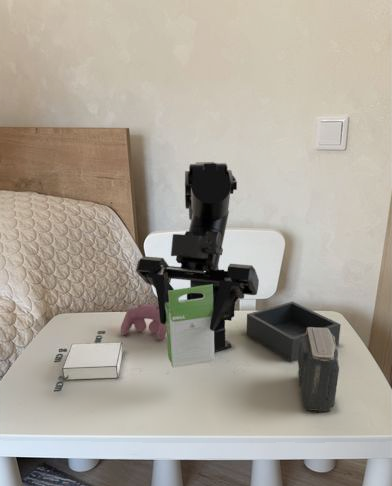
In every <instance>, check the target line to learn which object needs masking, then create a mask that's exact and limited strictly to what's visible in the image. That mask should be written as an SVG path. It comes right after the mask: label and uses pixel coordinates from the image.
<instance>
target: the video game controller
mask: <svg viewBox="0 0 392 486" xmlns="http://www.w3.org/2000/svg"><path fill="white" fill-rule="evenodd" d="M123 317H124V318H123V320H122V323H121V325H120V333H121V335H122V336H125V335H127V334H128V333H129V331H130V330H131V328H132V327H133V325H134V329H135V330H136V331H138V332H143V331H145V330H146V329H147V327H148V331H149V332H150V333H153V334H157V338H158V341H162V340H164V338H165V337H166V336H167V330H166V323H165V325H162V324H161V322H160V315H159V306H157V305H153V304H144V303H143V304H135V305H132V306H130V308H128V309H127V310H126V313H125V316H123ZM145 319H146V320H151V322H150V323H149V324H148V326H147V322H146V320H145Z"/></svg>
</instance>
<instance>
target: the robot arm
mask: <svg viewBox="0 0 392 486" xmlns="http://www.w3.org/2000/svg"><path fill="white" fill-rule="evenodd" d="M188 169H189V170H185V171H184V202H185V203H184V204H185V209H188V219H189V221H190V225H189V228H188V231H187V230H186V231H185V233H184V234H181V233H180V234H179V233H172V238H171V239H172V240H171V249H170V257H175V261H176V262H177V264H180V266H175V265H173V266H172V265H169V264H168V263H167V261H166V260H165V258H164V257H156V256H144V255H143V256H142V257H141V258H140V259H138V261H137V263H136V268H135V272H136V273H137V274H138V275H139V276H140V278H141V279H142V280H143V281H144V283H146V284H147V285H150V286H153V287H154V289H155V292H156V297H157V304H158V307H159V315H160V322H161V324H162V325H165V323H166V313H165V303H166V302H169V295H168V291H169V290H175V289H174V287H173V286H172V285H171V280H181V281H182V280H184V281H189V282H190V284H189V285H190V287H197V286H204V285H211V284H213V314H212V318H211V324H210V330H211V331H214V353H216V352H219V351H223V350H226V349H229V348H232V343H230V341H227V340H226V321H231V322H232V319H233V318H234V317H235V307H236V302H237V301H238V300H239V299H240V300H242V299H244V298H245V295H247V296H256V295H258V290H259V285H260V284H259V283H260V281H259V277H258V273H257V271H256V269H255V268H254V266H253V265H252V264H239V263H230V264H229V265H228V266H227V270H225V269H219V262H220V258H221V256H222V255H223V251H224V249H223V244H224V238H225V234H226V229H227V225H228V224H227V223H228V219H229V214H230V210H229V207H230V199H231V195H233V194H234V191H237V190H238V181H237V178H236V177H235V176H234V175H233V172H232V169H228V164H227V163H226V162H214V161H196V162H195V163H189V164H188ZM190 287H189V288H190ZM203 296H204V295H203V294H202V293H188V294H186V300H190V299H198V298H203Z"/></svg>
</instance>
